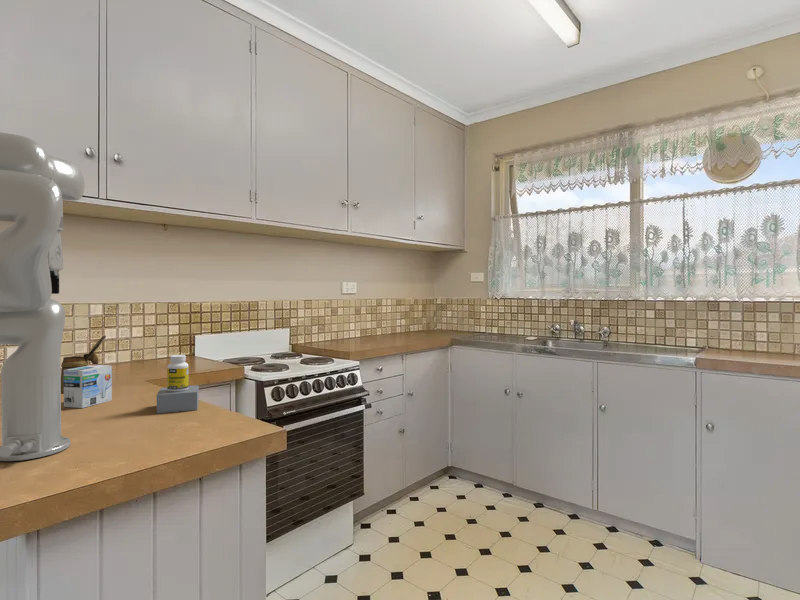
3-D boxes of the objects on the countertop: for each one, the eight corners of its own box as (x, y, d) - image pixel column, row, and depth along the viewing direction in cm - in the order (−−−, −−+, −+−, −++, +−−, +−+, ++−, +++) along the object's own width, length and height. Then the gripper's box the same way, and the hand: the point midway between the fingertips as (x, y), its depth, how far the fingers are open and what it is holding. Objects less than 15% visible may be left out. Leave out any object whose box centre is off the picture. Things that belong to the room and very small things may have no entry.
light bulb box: (82, 408, 129) (82, 370, 129) (62, 407, 131) (62, 369, 131) (113, 400, 140) (112, 364, 140) (94, 399, 141) (94, 364, 141)
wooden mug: (107, 389, 156) (107, 336, 155) (58, 394, 148) (57, 338, 147) (105, 385, 163) (104, 334, 163) (57, 389, 155) (57, 336, 154)
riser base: (197, 410, 128) (197, 392, 128) (156, 413, 124) (156, 395, 124) (198, 402, 137) (198, 385, 137) (161, 405, 133) (160, 387, 133)
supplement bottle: (165, 392, 127) (165, 357, 127) (169, 388, 132) (169, 354, 132) (186, 391, 128) (186, 356, 128) (190, 387, 134) (189, 354, 133)
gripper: (50, 219, 106) (51, 293, 106) (72, 229, 122) (73, 293, 122) (10, 217, 103) (11, 293, 104) (38, 227, 119) (38, 293, 120)
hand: (44, 293), depth 113 cm, fingers open, 9 cm apart
